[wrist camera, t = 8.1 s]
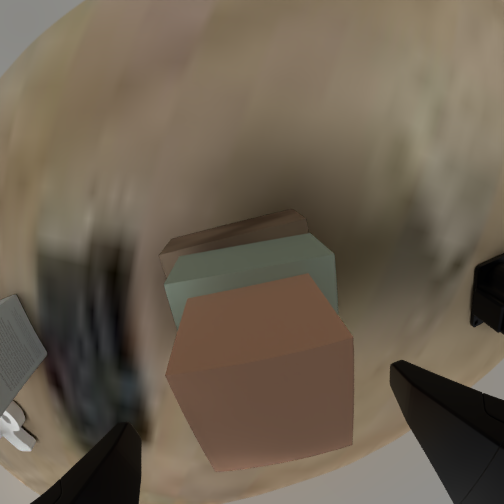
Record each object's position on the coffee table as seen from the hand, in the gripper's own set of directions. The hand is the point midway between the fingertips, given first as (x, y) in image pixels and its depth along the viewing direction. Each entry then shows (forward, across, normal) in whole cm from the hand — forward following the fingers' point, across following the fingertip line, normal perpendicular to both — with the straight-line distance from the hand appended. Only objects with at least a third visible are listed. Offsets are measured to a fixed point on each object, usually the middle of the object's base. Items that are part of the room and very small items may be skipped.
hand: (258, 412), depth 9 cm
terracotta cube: (+4, 0, 0) cm, 4 cm away
